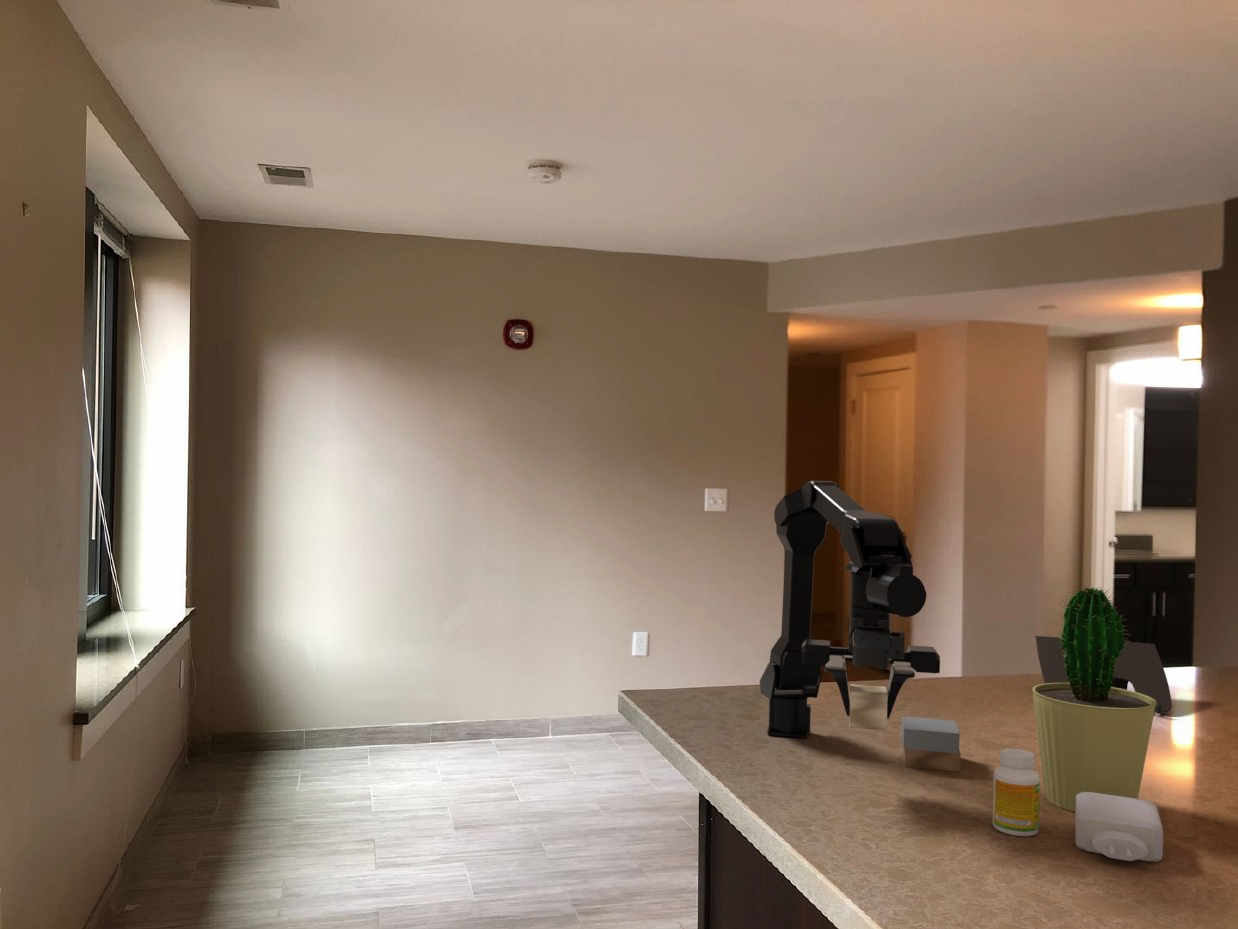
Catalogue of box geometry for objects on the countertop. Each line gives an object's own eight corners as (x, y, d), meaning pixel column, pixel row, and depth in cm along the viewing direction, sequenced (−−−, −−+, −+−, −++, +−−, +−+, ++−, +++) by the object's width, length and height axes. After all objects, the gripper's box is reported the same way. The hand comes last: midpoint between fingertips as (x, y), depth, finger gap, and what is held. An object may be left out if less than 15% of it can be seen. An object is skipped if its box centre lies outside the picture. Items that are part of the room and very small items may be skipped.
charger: (1075, 869, 115) (1075, 827, 129) (1166, 884, 111) (1156, 839, 125) (1076, 827, 115) (1076, 790, 129) (1167, 841, 111) (1157, 801, 125)
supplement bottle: (1042, 839, 123) (1044, 760, 123) (996, 835, 124) (998, 756, 124) (1033, 824, 129) (1035, 748, 129) (989, 820, 130) (991, 745, 130)
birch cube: (849, 727, 140) (850, 691, 140) (848, 719, 145) (849, 684, 145) (886, 730, 139) (887, 694, 139) (884, 721, 144) (885, 686, 144)
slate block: (903, 748, 152) (904, 728, 152) (901, 735, 160) (902, 716, 160) (959, 753, 150) (959, 733, 150) (954, 739, 158) (954, 720, 158)
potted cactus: (1148, 831, 127) (1155, 594, 127) (1019, 806, 135) (1025, 583, 135) (1158, 798, 140) (1163, 583, 140) (1039, 777, 148) (1045, 574, 148)
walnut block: (904, 768, 152) (905, 749, 152) (901, 754, 160) (902, 735, 160) (960, 773, 151) (960, 753, 151) (954, 758, 158) (955, 739, 158)
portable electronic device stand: (1044, 735, 196) (1048, 697, 192) (1031, 662, 216) (1035, 627, 212) (1175, 747, 190) (1182, 708, 186) (1150, 671, 210) (1156, 635, 206)
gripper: (801, 610, 136) (798, 726, 136) (945, 618, 132) (942, 737, 132) (803, 600, 147) (801, 707, 147) (937, 607, 143) (934, 716, 143)
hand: (867, 717), depth 142 cm, fingers closed on birch cube, 5 cm apart
